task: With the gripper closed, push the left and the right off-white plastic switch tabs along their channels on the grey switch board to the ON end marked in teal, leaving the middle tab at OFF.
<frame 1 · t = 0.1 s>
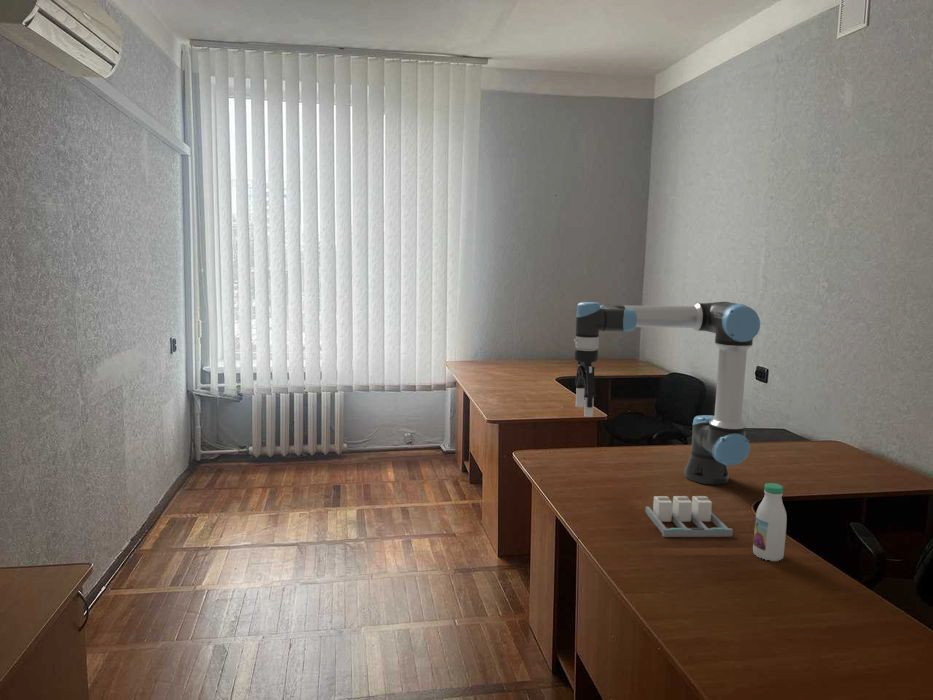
hand: (583, 411, 224), 28 cm above the table, fingers open, 13 cm apart
tab 2: (682, 507, 202), point 5 cm above the table, slide at 0.0 cm
switch board: (685, 528, 199), on the table
tab 1: (701, 507, 203), point 5 cm above the table, slide at 0.0 cm
milk bottle: (767, 556, 182), on the table
tab 3: (662, 507, 202), point 5 cm above the table, slide at 0.0 cm
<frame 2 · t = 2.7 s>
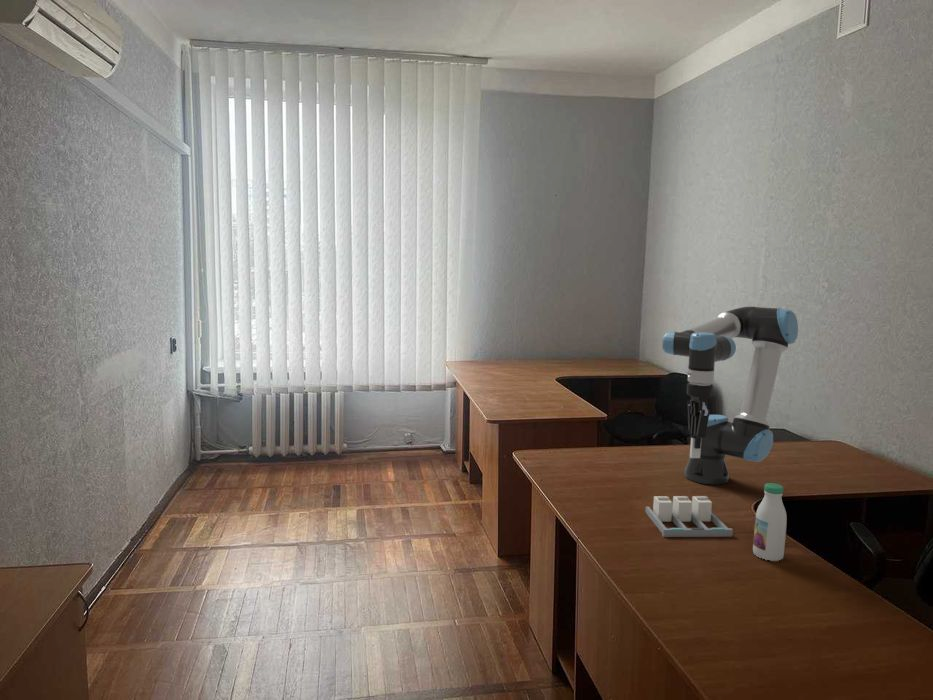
hand: (694, 457, 208), 18 cm above the table, fingers closed
nothing on the table moved.
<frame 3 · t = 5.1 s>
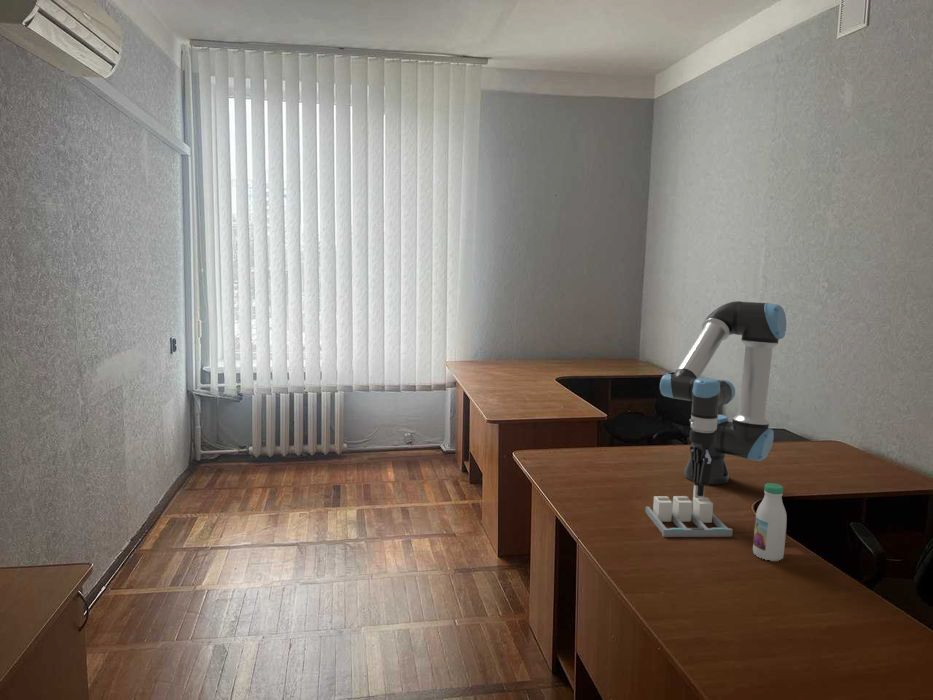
hand: (697, 504, 205), 5 cm above the table, fingers closed
tab 1: (702, 508, 202), point 5 cm above the table, slide at 1.0 cm, touching gripper
everything else where it was.
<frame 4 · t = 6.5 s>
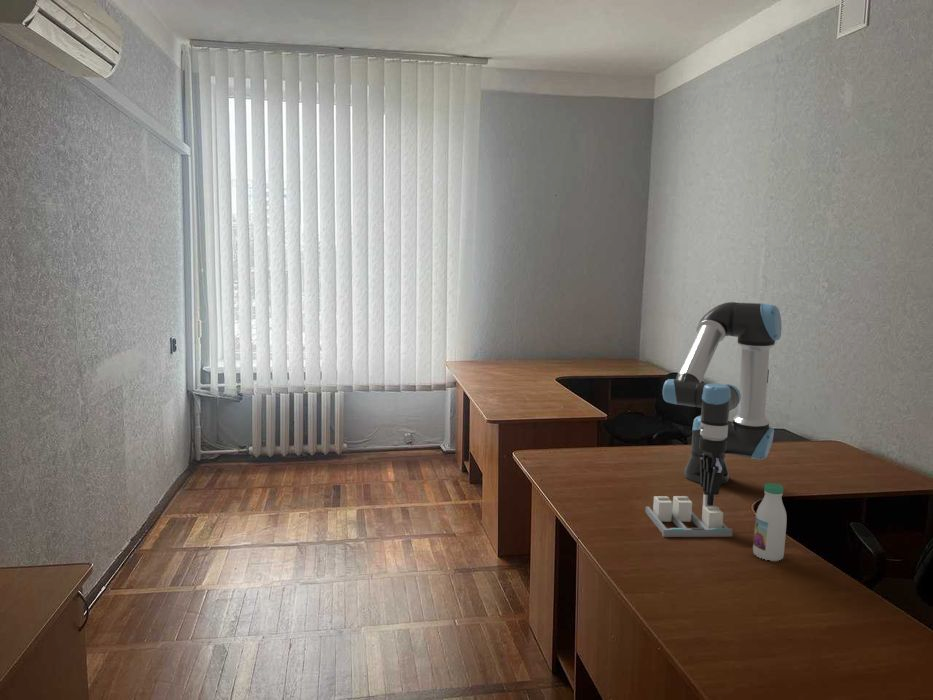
hand: (707, 514, 198), 5 cm above the table, fingers closed
tab 1: (712, 518, 195), point 5 cm above the table, slide at 8.0 cm, touching gripper
everything else where it was.
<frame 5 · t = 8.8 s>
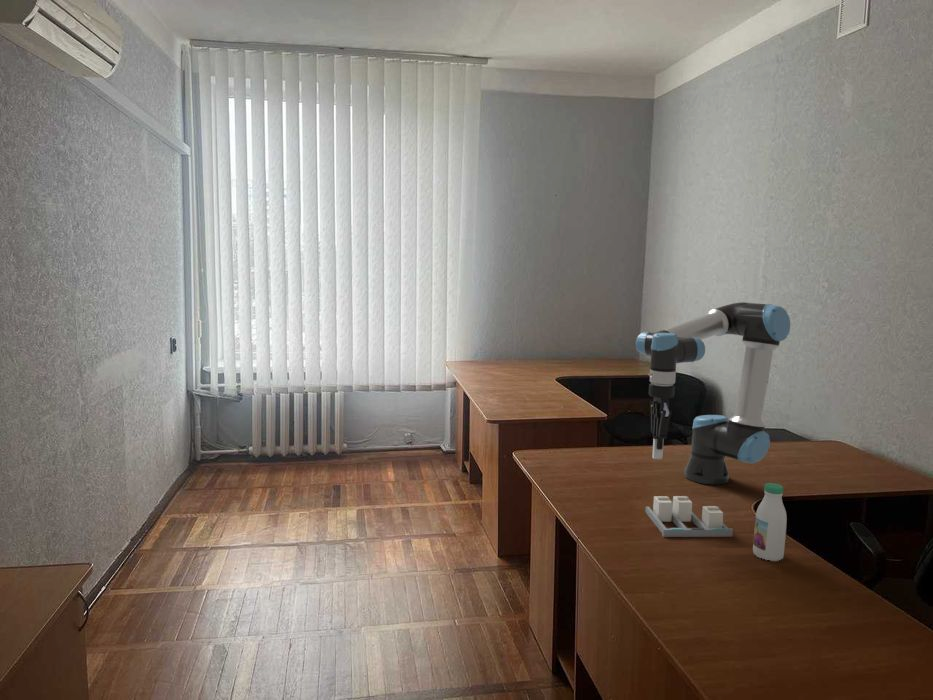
hand: (657, 458, 207), 18 cm above the table, fingers closed
tab 1: (712, 518, 195), point 5 cm above the table, slide at 8.0 cm
everything else where it was.
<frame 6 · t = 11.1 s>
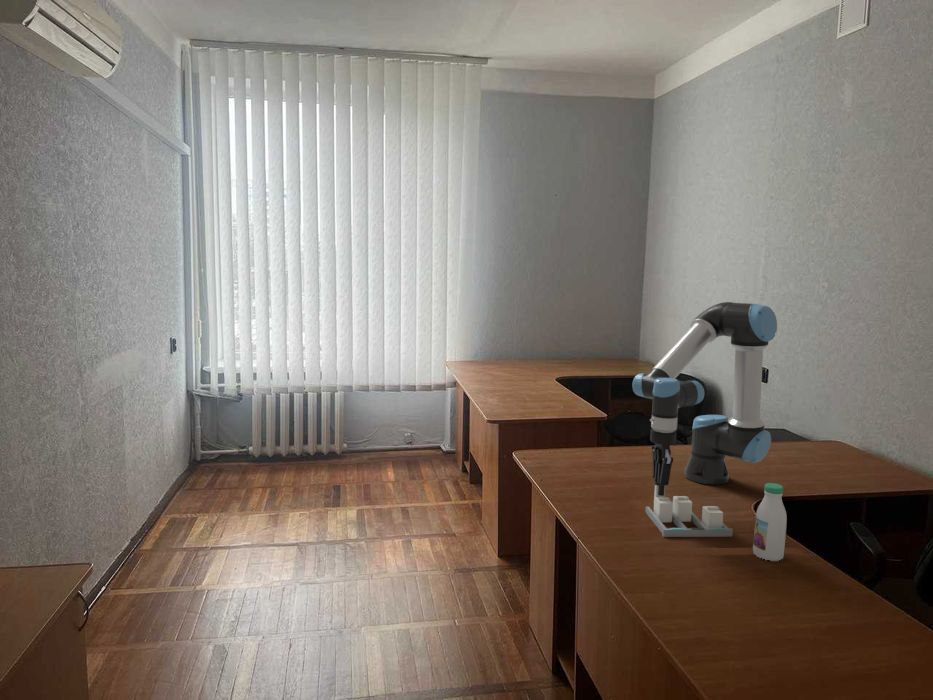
hand: (658, 504, 205), 5 cm above the table, fingers closed
tab 3: (663, 508, 202), point 5 cm above the table, slide at 0.6 cm, touching gripper
everything else where it was.
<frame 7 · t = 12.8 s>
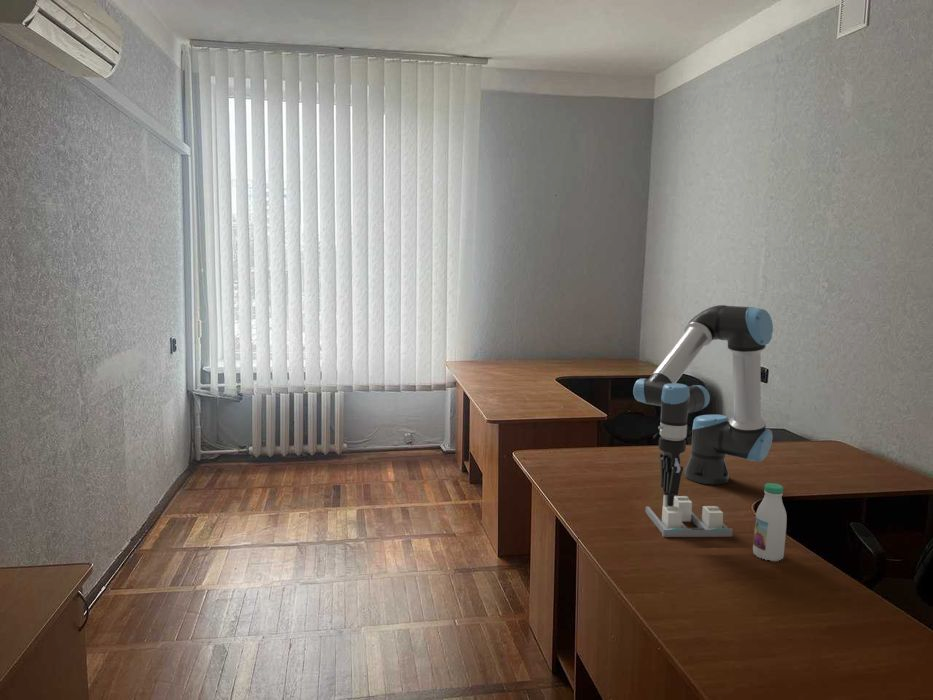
hand: (667, 514, 197), 5 cm above the table, fingers closed
tab 3: (671, 518, 194), point 5 cm above the table, slide at 8.0 cm, touching gripper
everything else where it was.
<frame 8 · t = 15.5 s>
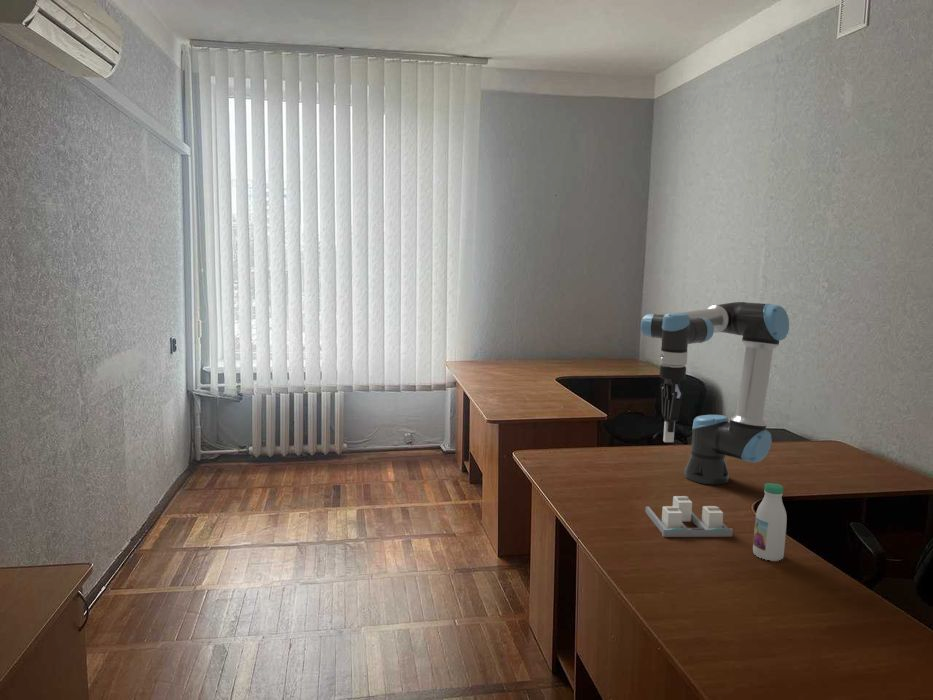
hand: (668, 441, 203), 24 cm above the table, fingers closed
tab 3: (671, 518, 194), point 5 cm above the table, slide at 8.0 cm
everything else where it was.
at the end: tab 1 slide at 8.0 cm; tab 3 slide at 8.0 cm; tab 2 slide at 0.0 cm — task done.
